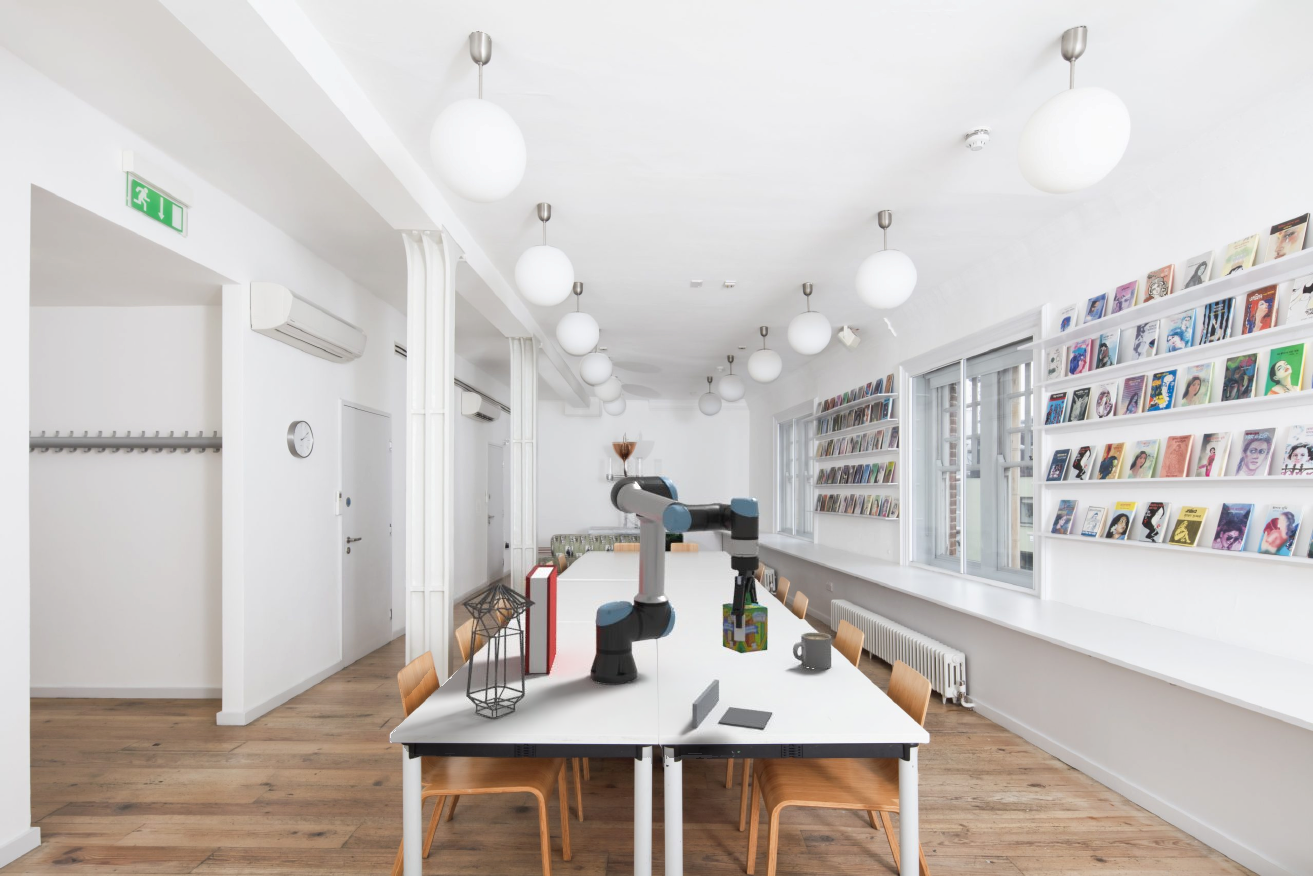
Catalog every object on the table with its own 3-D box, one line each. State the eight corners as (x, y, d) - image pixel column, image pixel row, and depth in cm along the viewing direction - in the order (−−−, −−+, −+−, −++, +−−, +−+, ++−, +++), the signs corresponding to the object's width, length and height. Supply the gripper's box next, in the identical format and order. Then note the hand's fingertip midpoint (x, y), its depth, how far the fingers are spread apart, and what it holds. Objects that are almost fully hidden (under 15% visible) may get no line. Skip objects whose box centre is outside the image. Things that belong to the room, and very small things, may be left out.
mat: (718, 723, 177) (718, 721, 178) (729, 708, 189) (729, 707, 189) (763, 729, 173) (763, 727, 173) (772, 713, 185) (772, 712, 185)
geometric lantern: (455, 713, 185) (458, 584, 188) (502, 699, 197) (504, 578, 200) (489, 726, 175) (493, 589, 178) (537, 711, 187) (539, 583, 190)
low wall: (692, 727, 175) (692, 703, 175) (714, 700, 195) (714, 679, 196) (696, 728, 174) (696, 704, 175) (718, 701, 195) (718, 680, 195)
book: (549, 675, 220) (550, 576, 222) (524, 675, 219) (525, 576, 221) (556, 652, 247) (557, 564, 249) (534, 653, 247) (535, 565, 248)
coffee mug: (826, 661, 236) (825, 632, 237) (835, 669, 226) (834, 639, 227) (788, 661, 236) (788, 632, 236) (796, 670, 226) (795, 639, 226)
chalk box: (740, 654, 176) (740, 597, 177) (721, 646, 184) (721, 591, 185) (769, 650, 180) (768, 594, 181) (749, 642, 188) (748, 589, 189)
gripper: (748, 561, 170) (749, 647, 169) (767, 550, 193) (767, 626, 192) (719, 559, 173) (720, 644, 172) (741, 549, 196) (742, 624, 195)
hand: (745, 634), depth 182 cm, fingers closed on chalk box, 12 cm apart
